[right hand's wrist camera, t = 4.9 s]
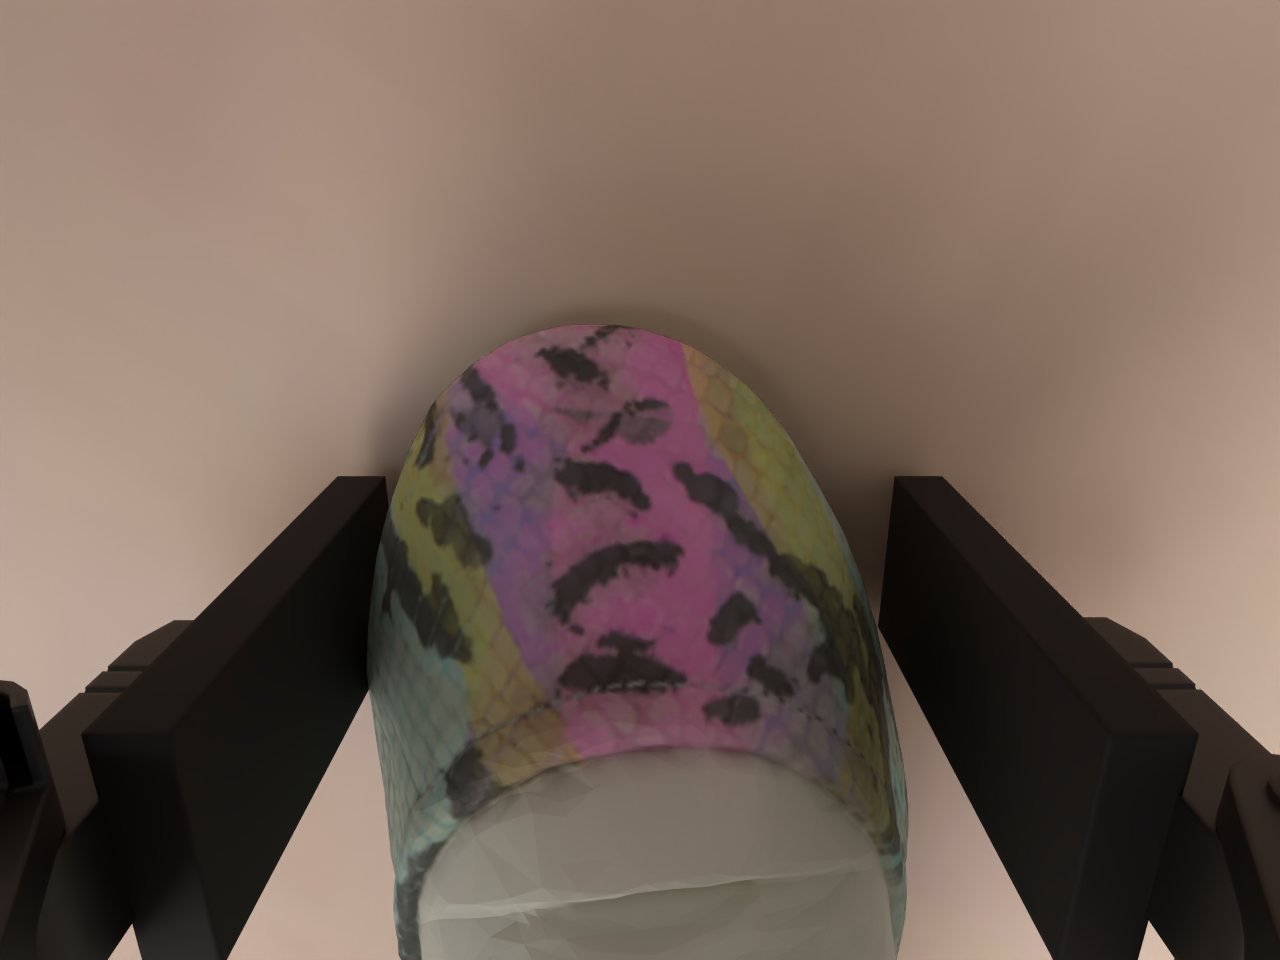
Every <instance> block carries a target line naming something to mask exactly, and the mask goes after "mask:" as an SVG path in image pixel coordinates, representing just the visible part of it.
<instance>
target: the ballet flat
mask: <svg viewBox="0 0 1280 960" xmlns="http://www.w3.org/2000/svg"><path fill="white" fill-rule="evenodd" d="M367 680H368V688H369V693H370V698H371V703H372V710H373V718H374V725H375V733H376V740H377V746H378V752H379V759H380V765H381V771H382V777H383V783H384V790H385V799H386V809H387V816H388V826H389V838H390V849H391V857H392V862H393V866H394V870H395V884H394V918H395V926H396V934H397V938H398V949H399V956H400V958H401V960H896V959H897V955H898V950H899V945H900V940H901V935H902V930H903V925H904V920H905V910H906V897H907V889H906V866H905V862H906V854H907V837H908V802H907V790H906V782H905V774H904V767H903V760H902V754H901V749H900V744H899V739H898V734H897V728H896V723H895V718H894V712H893V707H892V703H891V698H890V693H889V687H888V682H887V676H886V670H885V665H884V660H883V655H882V651H881V646H880V642H879V637H878V633H877V628H876V624H875V620H874V617H873V614H872V611H871V607H870V604H869V601H868V597H867V594H866V591H865V588H864V584H863V581H862V578H861V575H860V572H859V570H858V567H857V565H856V562H855V560H854V557H853V555H852V552H851V550H850V547H849V545H848V542H847V540H846V537H845V535H844V532H843V530H842V529H841V527H840V525H839V523H838V521H837V519H836V517H835V515H834V513H833V512H832V510H831V508H830V506H829V504H828V502H827V500H826V499H825V497H824V495H823V493H822V491H821V489H820V488H819V486H818V484H817V482H816V481H815V479H814V477H813V476H812V474H811V472H810V470H809V469H808V467H807V465H806V464H805V462H804V460H803V459H802V457H801V455H800V453H799V452H798V450H797V448H796V447H795V445H794V443H793V442H792V440H791V438H790V437H789V435H788V434H787V432H786V431H785V430H784V428H783V427H782V426H781V424H780V423H779V422H778V420H777V419H776V418H775V417H774V416H773V414H772V413H771V412H770V411H769V409H768V408H767V407H766V406H765V405H764V403H763V402H762V401H761V400H760V399H759V398H758V397H757V396H756V395H755V394H754V393H753V392H752V391H751V390H750V389H749V388H748V387H747V386H746V385H745V384H744V383H743V382H741V381H740V380H739V379H738V378H737V377H735V376H734V375H733V374H732V373H730V372H729V371H728V370H727V369H725V368H724V367H723V366H722V365H721V364H719V363H718V362H716V361H714V360H713V359H711V358H709V357H708V356H706V355H704V354H703V353H701V352H699V351H698V350H696V349H694V348H693V347H691V346H689V345H686V344H684V343H681V342H678V341H676V340H673V339H670V338H667V337H664V336H661V335H658V334H655V333H652V332H649V331H646V330H642V329H639V328H633V327H626V326H619V325H569V326H560V327H552V328H548V329H545V330H541V331H538V332H534V333H531V334H528V335H525V336H523V337H520V338H517V339H514V340H512V341H510V342H509V343H507V344H505V345H503V346H501V347H499V348H498V349H496V350H494V351H493V352H491V353H489V354H488V355H486V356H485V357H483V358H482V359H480V360H479V361H477V362H476V363H474V364H472V365H471V366H470V367H469V368H468V369H467V370H466V371H465V372H464V373H463V374H461V375H460V376H459V377H458V378H457V379H456V380H455V381H453V382H452V383H451V384H450V385H449V386H448V387H447V388H446V389H445V390H444V391H443V392H442V393H441V395H440V396H439V397H438V398H437V400H436V401H435V402H434V403H433V405H432V406H431V408H430V410H429V412H428V414H427V416H426V418H425V420H424V422H423V424H422V426H421V428H420V429H419V431H418V433H417V435H416V437H415V439H414V441H413V444H412V446H411V448H410V450H409V452H408V455H407V458H406V461H405V463H404V466H403V469H402V472H401V475H400V477H399V480H398V483H397V486H396V489H395V492H394V494H393V497H392V500H391V503H390V506H389V509H388V512H387V516H386V520H385V524H384V528H383V532H382V536H381V541H380V545H379V549H378V553H377V558H376V565H375V572H374V579H373V586H372V593H371V602H370V613H369V624H368V638H367Z"/></svg>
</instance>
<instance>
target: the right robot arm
mask: <svg viewBox="0 0 1280 960" xmlns="http://www.w3.org/2000/svg"><path fill="white" fill-rule="evenodd" d="M388 509H389V505H388V496H387V487H386V478H385V476H338V477H337V478H336V479H335V480H334V481H333V482H332V483H331V484H330V485H329V486H328V487H327V488H326V489H325V490H324V491H323V492H322V493H321V494H320V495H319V496H318V497H317V498H316V499H315V500H314V501H313V502H312V503H311V504H310V505H309V506H308V507H307V508H306V509H305V510H304V511H303V512H302V513H301V514H300V515H299V516H298V517H297V518H296V519H295V520H294V521H293V522H292V523H291V524H290V525H289V526H288V527H287V528H286V529H285V530H284V531H283V532H282V533H281V534H280V535H279V536H278V537H277V538H276V539H275V540H274V541H273V542H272V543H271V544H270V545H269V546H268V547H267V548H266V549H265V550H264V551H263V552H262V553H261V554H260V555H259V556H258V557H257V558H256V559H255V560H254V561H253V562H252V563H251V564H250V565H249V566H248V567H247V568H246V569H245V570H244V571H243V572H242V573H241V574H240V575H239V576H238V577H237V578H236V579H235V580H234V581H233V582H232V583H231V584H230V585H229V586H228V587H227V588H226V589H225V590H224V591H223V592H222V593H221V594H220V595H219V596H218V597H217V598H216V599H215V600H214V601H213V602H212V603H211V604H210V605H209V606H208V607H207V608H206V609H205V610H204V611H203V612H202V613H201V614H200V615H199V616H198V617H197V618H196V619H195V620H174V621H172V622H170V623H168V624H166V625H165V626H163V627H161V628H159V629H157V630H155V631H153V632H152V633H150V634H148V635H146V636H144V637H142V638H141V639H139V640H137V641H135V642H134V643H133V644H132V645H131V646H130V647H129V648H127V649H126V650H125V651H124V652H123V653H122V654H121V655H120V656H119V657H118V658H117V659H116V660H114V661H113V662H112V663H111V664H110V665H109V666H108V671H103V672H102V673H100V674H99V675H98V676H97V677H96V678H95V679H94V680H93V681H92V682H91V683H90V684H89V685H87V686H86V687H85V689H86V690H85V693H79V694H78V695H77V696H76V697H75V698H73V699H72V700H71V701H70V702H69V703H68V704H67V705H66V706H65V707H64V708H63V709H62V710H61V711H59V712H58V713H57V714H56V715H55V716H54V717H53V718H52V719H51V720H50V721H49V722H48V723H46V724H45V725H44V726H43V727H42V728H41V729H40V730H39V729H38V726H37V722H36V719H35V715H34V712H33V709H32V705H31V702H30V698H29V695H28V692H27V690H26V689H24V688H22V687H21V686H19V685H18V684H16V683H15V682H12V681H3V680H0V960H108V958H109V957H110V955H111V954H112V952H113V951H114V949H115V948H116V946H117V945H118V944H119V942H120V941H121V939H122V938H123V936H124V935H125V933H126V932H127V930H128V929H129V927H130V926H131V924H133V928H134V931H135V935H136V939H137V942H138V946H139V950H140V953H141V957H142V960H227V958H228V956H229V955H230V953H231V951H232V949H233V947H234V945H235V943H236V941H237V939H238V937H239V935H240V934H241V932H242V930H243V928H244V926H245V924H246V922H247V920H248V918H249V916H250V915H251V913H252V911H253V909H254V907H255V905H256V903H257V901H258V899H259V897H260V896H261V894H262V892H263V890H264V888H265V886H266V884H267V882H268V880H269V878H270V877H271V875H272V873H273V871H274V869H275V867H276V865H277V863H278V861H279V859H280V857H281V856H282V854H283V852H284V850H285V848H286V846H287V844H288V842H289V840H290V838H291V837H292V835H293V833H294V831H295V829H296V827H297V825H298V823H299V821H300V819H301V818H302V816H303V814H304V812H305V810H306V808H307V806H308V804H309V802H310V800H311V799H312V797H313V795H314V793H315V791H316V789H317V787H318V785H319V783H320V781H321V780H322V778H323V776H324V774H325V772H326V770H327V768H328V766H329V764H330V762H331V760H332V759H333V757H334V755H335V753H336V751H337V749H338V747H339V745H340V743H341V741H342V740H343V738H344V736H345V734H346V732H347V730H348V728H349V726H350V724H351V722H352V721H353V719H354V717H355V715H356V713H357V711H358V709H359V707H360V705H361V703H362V702H363V700H364V698H365V696H366V694H367V692H368V690H369V688H368V680H367V638H368V624H369V613H370V602H371V593H372V586H373V579H374V572H375V565H376V558H377V553H378V549H379V545H380V541H381V536H382V532H383V528H384V524H385V520H386V516H387V512H388ZM878 628H879V629H880V631H881V633H882V635H883V637H884V639H885V641H886V643H887V645H888V647H889V648H890V650H891V652H892V654H893V656H894V658H895V660H896V662H897V664H898V666H899V667H900V669H901V671H902V673H903V675H904V677H905V679H906V681H907V683H908V685H909V686H910V688H911V690H912V692H913V694H914V696H915V698H916V700H917V702H918V704H919V705H920V707H921V709H922V711H923V713H924V715H925V717H926V719H927V721H928V723H929V725H930V726H931V728H932V730H933V732H934V734H935V736H936V738H937V740H938V742H939V744H940V745H941V747H942V749H943V751H944V753H945V755H946V757H947V759H948V761H949V763H950V764H951V766H952V768H953V770H954V772H955V774H956V776H957V778H958V780H959V782H960V783H961V785H962V787H963V789H964V791H965V793H966V795H967V797H968V799H969V801H970V802H971V804H972V806H973V808H974V810H975V812H976V814H977V816H978V818H979V820H980V821H981V823H982V825H983V827H984V829H985V831H986V833H987V835H988V837H989V839H990V841H991V842H992V844H993V846H994V848H995V850H996V852H997V854H998V856H999V858H1000V860H1001V861H1002V863H1003V865H1004V867H1005V869H1006V871H1007V873H1008V875H1009V877H1010V879H1011V880H1012V882H1013V884H1014V886H1015V888H1016V890H1017V892H1018V894H1019V896H1020V898H1021V899H1022V901H1023V903H1024V905H1025V907H1026V909H1027V911H1028V913H1029V915H1030V917H1031V918H1032V920H1033V922H1034V924H1035V926H1036V928H1037V930H1038V932H1039V934H1040V936H1041V937H1042V939H1043V941H1044V943H1045V945H1046V947H1047V949H1048V951H1049V953H1050V955H1051V957H1052V958H1053V960H1138V957H1139V953H1140V950H1141V946H1142V942H1143V939H1144V935H1145V931H1146V928H1147V924H1148V920H1149V921H1150V923H1151V924H1152V926H1153V927H1154V929H1155V930H1156V932H1157V933H1158V935H1159V936H1160V937H1161V939H1162V940H1163V942H1164V943H1165V945H1166V946H1167V948H1168V949H1169V951H1170V952H1171V954H1172V955H1173V957H1174V960H1280V755H1275V754H1271V753H1270V752H1269V751H1267V750H1266V749H1265V748H1264V747H1263V746H1262V745H1261V744H1260V743H1259V742H1258V741H1257V740H1256V739H1254V738H1253V737H1252V736H1251V735H1250V734H1249V733H1248V732H1247V731H1246V730H1245V729H1244V728H1242V727H1241V726H1240V725H1239V724H1238V723H1237V722H1236V721H1235V720H1234V719H1233V718H1232V717H1230V716H1229V715H1228V714H1227V713H1226V712H1225V711H1224V710H1223V709H1222V708H1221V707H1220V706H1219V705H1217V704H1216V703H1215V702H1214V701H1213V700H1212V699H1211V698H1210V697H1209V696H1208V695H1207V694H1205V693H1204V692H1203V691H1202V690H1196V688H1195V683H1193V682H1192V681H1191V680H1190V679H1189V678H1188V677H1187V676H1186V675H1185V674H1184V673H1183V672H1181V671H1180V670H1179V669H1178V668H1173V663H1172V662H1171V661H1170V660H1168V659H1167V658H1166V657H1165V656H1164V655H1163V654H1162V653H1161V652H1160V651H1159V650H1158V649H1156V648H1155V647H1154V646H1153V645H1152V644H1151V643H1150V642H1149V641H1148V640H1147V639H1146V638H1144V637H1142V636H1140V635H1138V634H1136V633H1134V632H1133V631H1131V630H1129V629H1127V628H1125V627H1123V626H1121V625H1120V624H1118V623H1116V622H1114V621H1112V620H1110V619H1108V618H1107V617H1082V616H1081V615H1080V614H1079V613H1078V612H1077V611H1076V610H1075V609H1074V608H1073V607H1072V606H1071V605H1070V604H1069V603H1068V602H1067V601H1066V600H1065V599H1064V598H1063V597H1062V596H1061V595H1060V594H1059V593H1058V592H1057V591H1056V590H1055V589H1054V588H1053V587H1052V586H1051V585H1050V584H1049V583H1048V582H1047V581H1046V580H1045V579H1044V578H1043V577H1042V576H1041V575H1040V574H1039V573H1038V572H1037V571H1036V570H1035V569H1034V568H1033V567H1032V566H1031V565H1030V564H1029V563H1028V562H1027V561H1026V560H1025V559H1024V558H1023V557H1022V556H1021V555H1020V554H1019V553H1018V552H1017V551H1016V550H1015V549H1014V548H1013V547H1012V546H1011V545H1010V544H1009V543H1008V542H1007V541H1006V540H1005V539H1004V538H1003V537H1002V536H1001V535H1000V534H999V533H998V532H997V531H996V530H995V529H994V528H993V527H992V526H991V525H990V524H989V523H988V522H987V521H986V520H985V519H984V518H983V517H982V516H981V515H980V514H979V513H978V512H977V511H976V510H975V509H974V508H973V507H972V506H971V505H970V504H969V503H968V502H967V501H966V500H965V499H964V498H963V497H962V496H961V495H960V494H959V493H958V492H957V491H956V490H955V489H954V488H953V487H952V486H951V485H950V484H949V483H948V482H947V481H946V480H945V479H944V478H943V477H942V476H895V477H894V486H893V495H892V504H891V513H890V522H889V532H888V541H887V550H886V559H885V568H884V577H883V586H882V595H881V604H880V613H879V622H878Z"/></svg>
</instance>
